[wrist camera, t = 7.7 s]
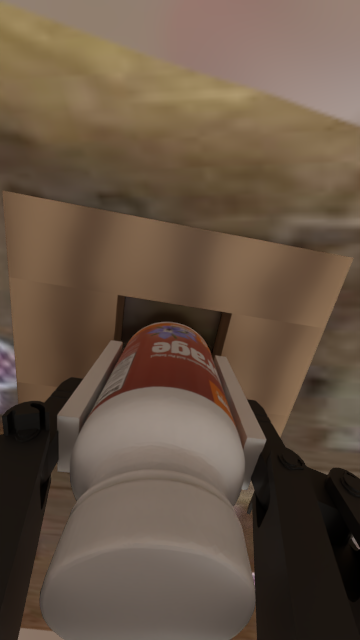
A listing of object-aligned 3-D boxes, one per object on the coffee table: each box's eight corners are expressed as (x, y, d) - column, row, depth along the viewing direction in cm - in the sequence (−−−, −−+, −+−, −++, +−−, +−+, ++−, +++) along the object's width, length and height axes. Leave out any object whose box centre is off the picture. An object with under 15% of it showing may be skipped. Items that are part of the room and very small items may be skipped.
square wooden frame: (39, 411, 20) (20, 432, 17) (30, 200, 14) (2, 190, 12) (260, 436, 22) (271, 459, 19) (327, 257, 16) (353, 258, 14)
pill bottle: (228, 353, 15) (357, 595, 4) (174, 409, 16) (175, 694, 6) (158, 300, 14) (104, 465, 3) (106, 366, 15) (-52, 634, 4)
